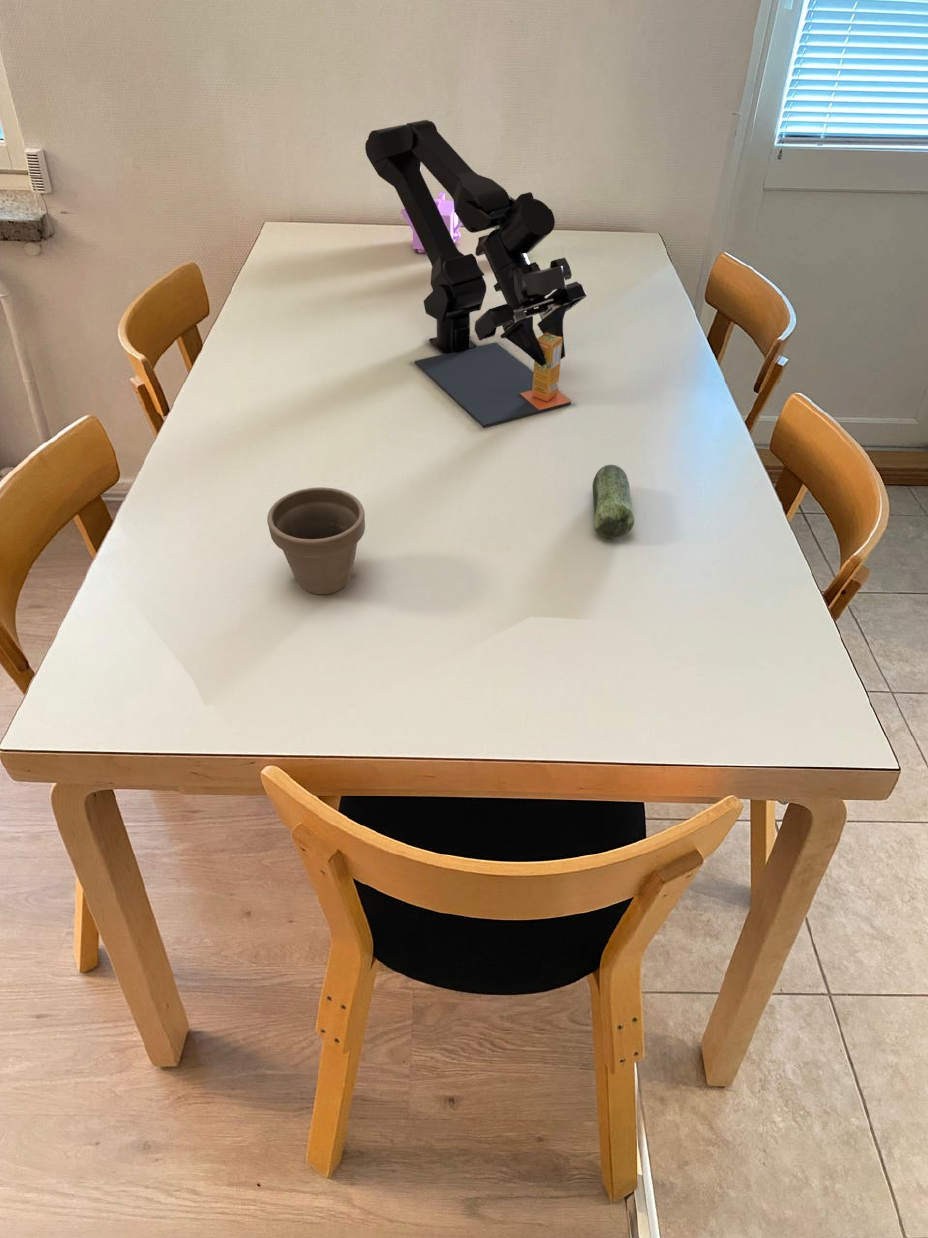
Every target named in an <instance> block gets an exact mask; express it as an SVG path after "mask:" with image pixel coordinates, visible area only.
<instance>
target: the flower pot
mask: <svg viewBox="0 0 928 1238" xmlns="http://www.w3.org/2000/svg"><path fill="white" fill-rule="evenodd" d="M365 514H366V512H365V509H364V506H363V504H362V503H361V501H360V500H359V499H358V498H357V497H356V496H355V495H353V494H351V493H350V492H348V491H345V490H342V489H338V488H334V487H323V486H321V487H307V488H304V489H299V490H296V491H293V492H290V493H287V494H286V495H284V496H283V497H281V498H279V499H278V500H277V501H276V502H274V503H273V505H272V506H271V507H270V509H268V512H267V519H266V520H267V521H266V522H267V525H268V531H269V534H270V538H271V540H272V542H273V544H274V545H276V546H277V547H278V548H279V549H280V550H282V552H283V554H284V557H285V559H286V561H287V563H288V565H289V568H290V570H291V572H292V575H293V576H294V578H295V580H296V582H297V584H298V586H299V587H300V588H301V589H303V590H304V591H306V592H308V593H310V594H315V595H328V594H333V593H337V592H338V591H340V590H342V589H344V587H346V586H347V585H348V583H349V582H350V580H351V576H352V572H353V568H354V564H355V559H356V553H357V549H358V543H359V541H361V539H362V538H363V536H364V534H365V531H366V519H365V517H366V515H365Z"/></svg>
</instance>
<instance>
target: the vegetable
mask: <svg viewBox="0 0 928 1238" xmlns="http://www.w3.org/2000/svg"><path fill="white" fill-rule="evenodd" d="M592 498H593V499H592V501H593V513H594V514H593V515H594V516H593V527H594V530H595V531H596V533H597V534H598V535H600V536H602V537H605V538H609V539H610V538H611V539H614V538H615V539H616V538H620V537H623V536H625V535H627V534H628V533H630V531H631V530H632V529H633V527H634V524H635V516H634V511H633V506H632V497H631V487H630V482H629V479H628V476H627V474H626V472H625V470H624V469H623V468H621V466H619V465H615V464H607V465H604V466H601V468H599V469H598V471H597V472H596V474H595V476H594V478H593V481H592Z"/></svg>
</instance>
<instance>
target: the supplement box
mask: <svg viewBox="0 0 928 1238" xmlns="http://www.w3.org/2000/svg"><path fill="white" fill-rule="evenodd" d="M537 340H538V342H539V344H540V347H541V349H542V351H543V354H544V357H545V360H546V364H545V365H544V366H541V365H539V364H538V363H537V362H536V361H535V360H534V365H533V372H534V374H533V388H532V396H533V397H536V398H539V399H541V400H544V401H547V402H548V401H549V400H551V399H552V398H553V397H555V396H556V395H557V394H558V391H559V385H560V374H561V373H560V371H561V360H562V359H561V350H562V337H558V336H555V335H552V334H550V333H548V332H546V333H544V334H543V333H542V335H539V337H537Z"/></svg>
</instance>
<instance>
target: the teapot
mask: <svg viewBox="0 0 928 1238" xmlns="http://www.w3.org/2000/svg"><path fill="white" fill-rule="evenodd" d="M445 196H446V192H445V191H440V192H439V194H438V197H437V198H433V199H434V201H435V203H436V205H437V207H438V209H439V212H440V214H441V216H442V218H443V220H444V222H445V224H446V226H447V228H448V230H449V233H450V235H451V237H452V239H453V241H454V243H456V241H457V240H459V239H460V238H461V233H460V231H459V229H460V227H461V226H462V225H463V224H462V222H461V221H460V220H459V218H458V216H457V215H456V213H455V212H454V200H449V199H445ZM400 214H401V215H402V217H403V218H404V219H405V221H406V222H407V224H408V225H409V227H410V228H411V230H412V249H415V250H417V253H421V254H425V253H426V252H425V250H424V248H423V246H422V243H421V241H420V239H419V237H418V235H417V233H416V231H415V229H414V227H413V225H412V223H411V220H410V218H409V216H408V214H407V212H406V210H405V208H403V209H400Z"/></svg>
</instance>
